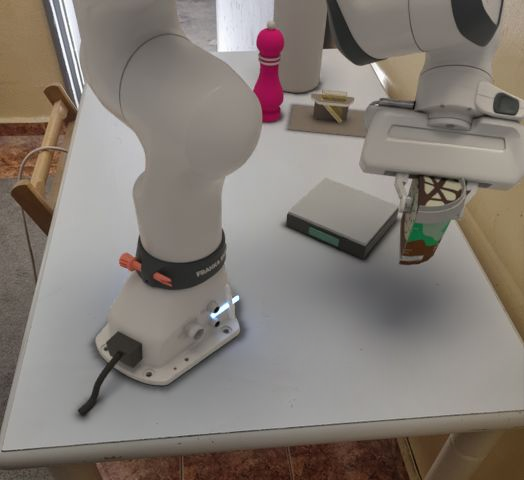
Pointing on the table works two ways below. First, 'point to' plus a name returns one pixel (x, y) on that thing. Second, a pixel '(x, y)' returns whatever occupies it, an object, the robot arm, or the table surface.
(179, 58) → the robot arm
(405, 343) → the table surface
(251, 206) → the table surface
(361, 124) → the platform
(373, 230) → the kitchen scale
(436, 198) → the food container
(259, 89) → the pepper mill
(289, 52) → the cylinder vase
